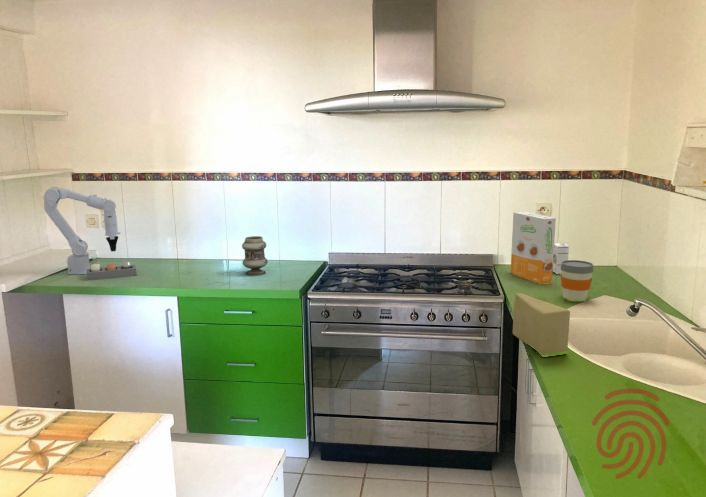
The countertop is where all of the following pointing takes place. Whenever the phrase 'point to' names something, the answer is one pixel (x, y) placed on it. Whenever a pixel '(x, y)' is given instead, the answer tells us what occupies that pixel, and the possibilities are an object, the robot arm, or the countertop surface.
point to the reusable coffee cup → (576, 279)
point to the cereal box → (533, 246)
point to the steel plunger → (126, 264)
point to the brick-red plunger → (111, 267)
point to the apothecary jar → (254, 255)
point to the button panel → (111, 273)
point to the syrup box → (559, 256)
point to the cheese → (541, 324)
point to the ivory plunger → (95, 267)
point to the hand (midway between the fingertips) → (113, 251)
